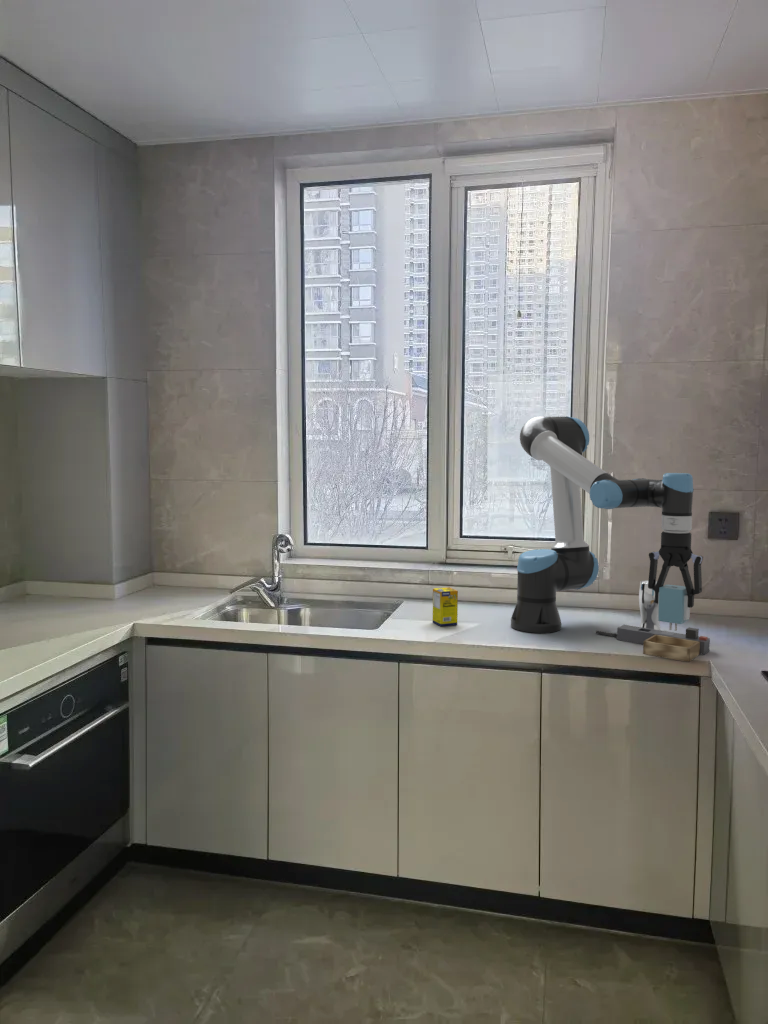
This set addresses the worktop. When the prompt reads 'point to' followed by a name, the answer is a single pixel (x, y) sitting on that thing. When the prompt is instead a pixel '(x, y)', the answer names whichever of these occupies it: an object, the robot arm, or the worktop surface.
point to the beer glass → (648, 607)
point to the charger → (672, 604)
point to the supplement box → (445, 606)
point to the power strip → (642, 634)
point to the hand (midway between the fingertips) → (673, 617)
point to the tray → (671, 648)
